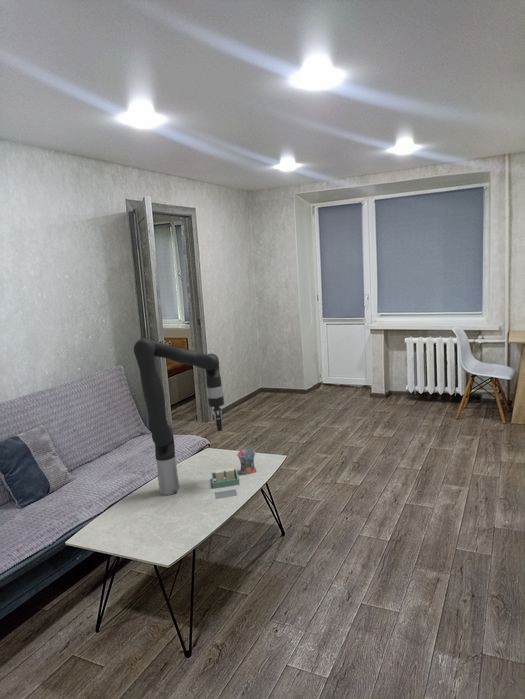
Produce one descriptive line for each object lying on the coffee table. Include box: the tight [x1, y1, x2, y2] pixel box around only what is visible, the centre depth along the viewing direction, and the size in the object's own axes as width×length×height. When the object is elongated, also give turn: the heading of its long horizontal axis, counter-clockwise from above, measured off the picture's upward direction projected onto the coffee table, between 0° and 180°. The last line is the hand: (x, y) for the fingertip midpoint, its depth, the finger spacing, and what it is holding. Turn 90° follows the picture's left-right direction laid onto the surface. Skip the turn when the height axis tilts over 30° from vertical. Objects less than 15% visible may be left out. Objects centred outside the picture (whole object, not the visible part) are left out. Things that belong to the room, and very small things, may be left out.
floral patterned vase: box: [236, 449, 257, 475], centre depth 258 cm, size 12×9×11 cm
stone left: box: [214, 468, 226, 482], centre depth 247 cm, size 4×4×6 cm
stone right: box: [224, 467, 236, 481], centre depth 248 cm, size 4×4×6 cm
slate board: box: [214, 488, 238, 500], centre depth 233 cm, size 10×7×1 cm
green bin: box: [210, 468, 240, 489], centre depth 247 cm, size 13×13×4 cm
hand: (219, 428), depth 243 cm, fingers open, 8 cm apart
